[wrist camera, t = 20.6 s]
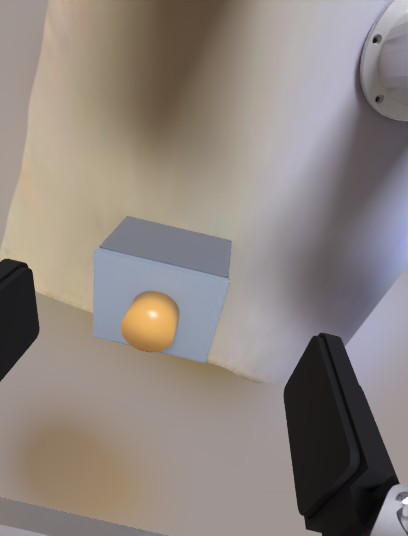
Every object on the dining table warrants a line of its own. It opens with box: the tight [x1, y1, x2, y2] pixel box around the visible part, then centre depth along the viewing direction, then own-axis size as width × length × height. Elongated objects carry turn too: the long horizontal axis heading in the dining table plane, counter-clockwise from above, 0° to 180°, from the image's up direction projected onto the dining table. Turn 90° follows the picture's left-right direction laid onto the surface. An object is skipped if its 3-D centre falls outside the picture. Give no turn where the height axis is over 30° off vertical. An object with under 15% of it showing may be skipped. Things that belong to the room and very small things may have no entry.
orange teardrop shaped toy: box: [121, 291, 180, 352], centre depth 37 cm, size 6×6×4 cm
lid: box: [93, 248, 230, 363], centre depth 39 cm, size 16×14×1 cm
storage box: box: [100, 216, 232, 278], centre depth 44 cm, size 16×14×10 cm
